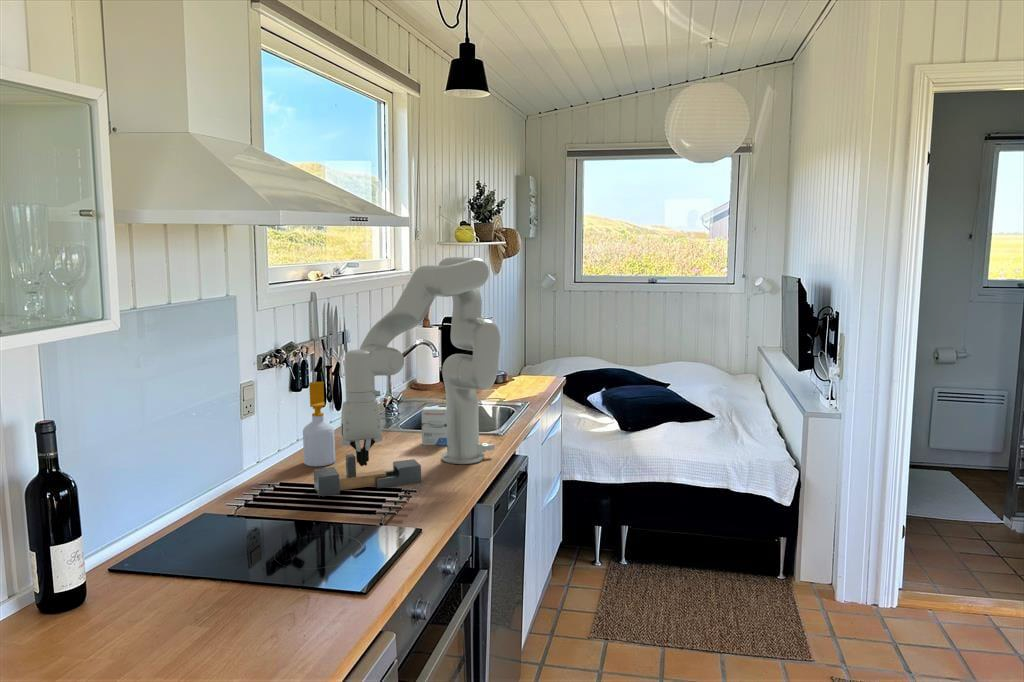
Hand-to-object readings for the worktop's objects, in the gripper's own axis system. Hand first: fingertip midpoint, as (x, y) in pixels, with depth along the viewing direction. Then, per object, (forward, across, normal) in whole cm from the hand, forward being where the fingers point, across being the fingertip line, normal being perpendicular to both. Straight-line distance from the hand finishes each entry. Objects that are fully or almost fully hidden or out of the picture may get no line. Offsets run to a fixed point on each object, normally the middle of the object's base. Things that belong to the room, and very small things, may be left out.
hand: (362, 464), depth 207 cm
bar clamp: (+6, -2, 0) cm, 6 cm away
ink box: (+6, -31, -34) cm, 46 cm away
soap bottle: (+6, +7, -28) cm, 29 cm away
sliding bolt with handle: (+6, +2, 0) cm, 6 cm away
